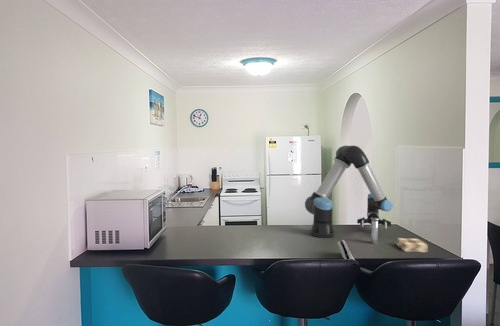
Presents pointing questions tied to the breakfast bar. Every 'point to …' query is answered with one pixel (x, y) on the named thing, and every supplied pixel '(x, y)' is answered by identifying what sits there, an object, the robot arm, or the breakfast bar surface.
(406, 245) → the socket block
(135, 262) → the breakfast bar surface
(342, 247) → the hinge
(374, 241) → the pin
